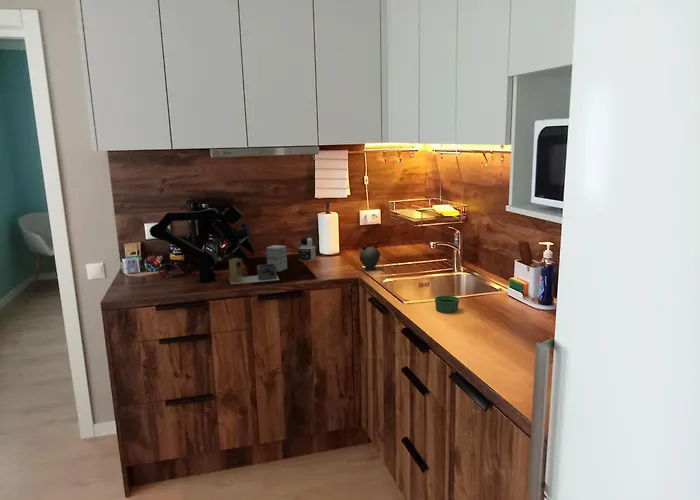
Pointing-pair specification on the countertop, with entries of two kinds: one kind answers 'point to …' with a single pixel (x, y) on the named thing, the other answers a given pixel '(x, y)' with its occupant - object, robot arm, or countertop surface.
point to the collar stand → (269, 274)
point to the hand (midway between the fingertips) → (250, 255)
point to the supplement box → (277, 256)
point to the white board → (251, 280)
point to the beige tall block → (235, 270)
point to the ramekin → (446, 304)
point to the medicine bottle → (306, 250)
